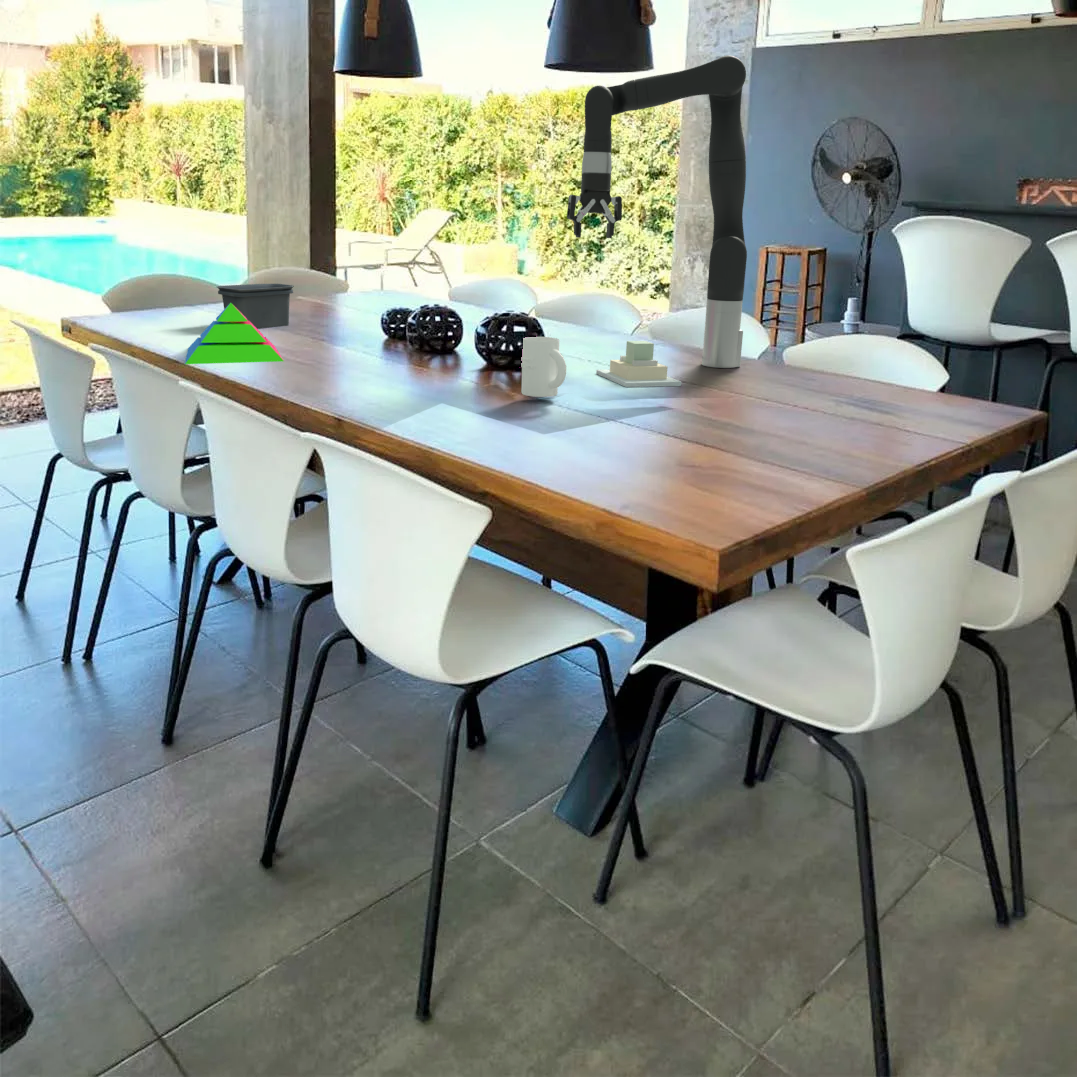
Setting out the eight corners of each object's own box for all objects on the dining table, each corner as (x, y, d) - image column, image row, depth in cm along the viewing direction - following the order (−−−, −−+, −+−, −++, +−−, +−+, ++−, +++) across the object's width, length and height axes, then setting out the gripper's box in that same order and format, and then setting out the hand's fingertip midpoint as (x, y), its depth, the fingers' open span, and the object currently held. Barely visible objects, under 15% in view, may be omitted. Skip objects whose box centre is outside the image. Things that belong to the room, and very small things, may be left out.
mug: (549, 401, 220) (551, 344, 217) (513, 392, 229) (514, 338, 225) (577, 397, 226) (579, 341, 222) (540, 389, 234) (542, 335, 230)
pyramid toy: (184, 352, 278) (179, 297, 274) (279, 351, 285) (277, 298, 281) (183, 366, 255) (178, 307, 251) (287, 364, 263) (284, 307, 258)
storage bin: (239, 338, 304) (236, 288, 299) (211, 333, 314) (208, 284, 309) (300, 333, 319) (298, 286, 314) (271, 328, 329) (269, 282, 324)
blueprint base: (648, 372, 263) (649, 352, 261) (681, 385, 245) (682, 363, 243) (596, 373, 259) (597, 352, 257) (626, 387, 241) (627, 364, 239)
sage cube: (644, 361, 254) (645, 340, 252) (652, 364, 249) (653, 343, 248) (625, 361, 252) (626, 341, 251) (633, 364, 248) (634, 343, 246)
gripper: (617, 173, 269) (613, 237, 274) (565, 170, 265) (563, 236, 270) (627, 172, 262) (624, 239, 267) (574, 170, 258) (572, 237, 263)
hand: (593, 237), depth 269 cm, fingers open, 8 cm apart
